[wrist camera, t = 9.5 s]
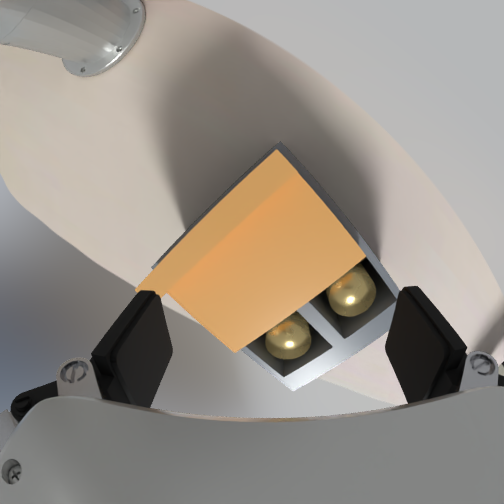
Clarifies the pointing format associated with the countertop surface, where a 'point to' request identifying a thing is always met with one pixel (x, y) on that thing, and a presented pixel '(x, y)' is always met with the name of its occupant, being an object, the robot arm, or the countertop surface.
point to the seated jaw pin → (289, 337)
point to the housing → (323, 305)
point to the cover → (256, 256)
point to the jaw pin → (352, 292)
